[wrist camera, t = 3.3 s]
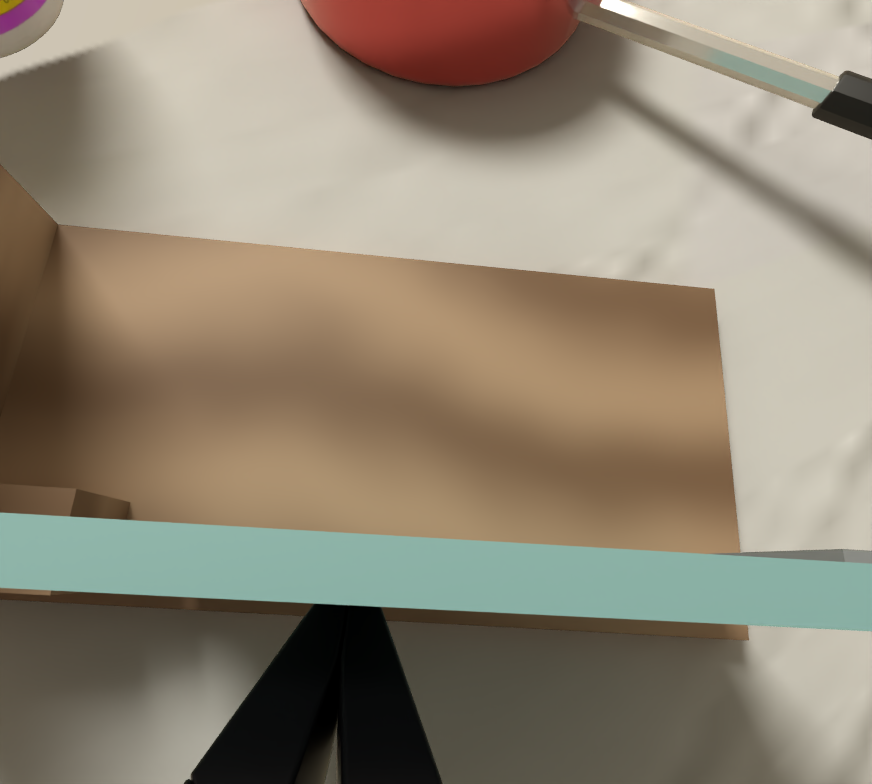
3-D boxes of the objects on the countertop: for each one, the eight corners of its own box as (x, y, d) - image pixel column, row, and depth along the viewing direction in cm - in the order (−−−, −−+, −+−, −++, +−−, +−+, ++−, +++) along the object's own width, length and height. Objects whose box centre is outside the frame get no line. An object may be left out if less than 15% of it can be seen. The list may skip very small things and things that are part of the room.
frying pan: (1009, 139, 25) (1209, 4, 19) (944, 377, 21) (1169, 302, 15) (390, -164, 27) (391, -372, 21) (229, 1, 23) (175, -195, 17)
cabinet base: (729, 636, 18) (1362, 767, 6) (-72, 592, 16) (-1196, 659, 5) (699, 301, 21) (1071, -9, 10) (37, 237, 20) (-451, -225, 8)
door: (698, 605, 17) (1134, 661, 7) (125, 575, 16) (-302, 593, 6) (694, 560, 17) (1102, 553, 7) (135, 527, 16) (-250, 469, 6)
